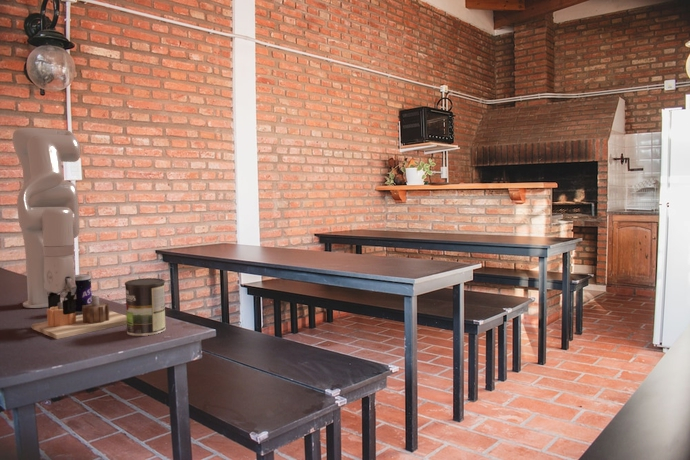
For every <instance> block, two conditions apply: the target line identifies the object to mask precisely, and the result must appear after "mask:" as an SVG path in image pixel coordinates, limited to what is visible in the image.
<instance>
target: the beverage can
mask: <svg viewBox="0 0 690 460" xmlns="http://www.w3.org/2000/svg"><path fill="white" fill-rule="evenodd" d="M75 284H76V295H75V296H76V299H75V306H76V314H77V315H83V312H82V306H83V305H88V304H92V300H91V297H92V296H93V295H92V294H93V293H92V279H91V277H90V274H82V273H81V274H75Z"/></svg>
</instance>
